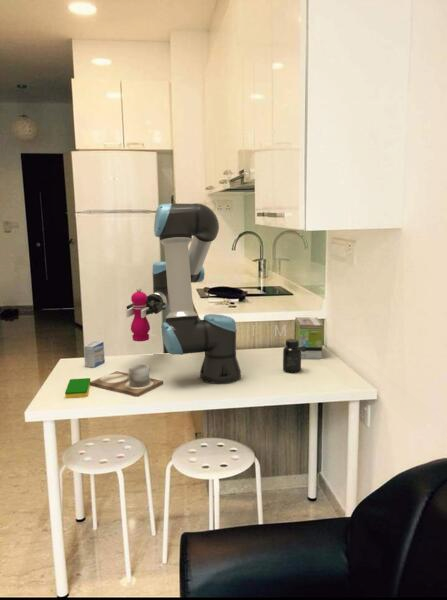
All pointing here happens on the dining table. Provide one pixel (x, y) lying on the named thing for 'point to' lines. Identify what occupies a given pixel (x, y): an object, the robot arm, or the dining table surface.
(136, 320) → the pepper mill
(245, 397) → the dining table surface
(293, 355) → the supplement bottle
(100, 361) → the medicine box
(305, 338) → the tea box
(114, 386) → the board
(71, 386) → the dish sponge
